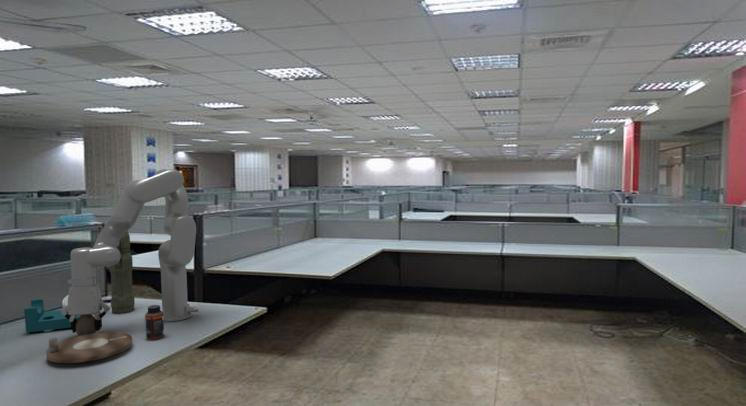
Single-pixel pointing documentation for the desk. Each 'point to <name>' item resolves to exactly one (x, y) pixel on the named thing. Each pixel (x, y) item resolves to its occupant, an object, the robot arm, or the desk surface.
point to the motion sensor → (65, 302)
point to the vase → (85, 325)
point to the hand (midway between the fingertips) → (86, 330)
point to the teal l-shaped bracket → (44, 318)
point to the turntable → (88, 347)
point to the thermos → (122, 279)
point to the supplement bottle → (154, 323)
